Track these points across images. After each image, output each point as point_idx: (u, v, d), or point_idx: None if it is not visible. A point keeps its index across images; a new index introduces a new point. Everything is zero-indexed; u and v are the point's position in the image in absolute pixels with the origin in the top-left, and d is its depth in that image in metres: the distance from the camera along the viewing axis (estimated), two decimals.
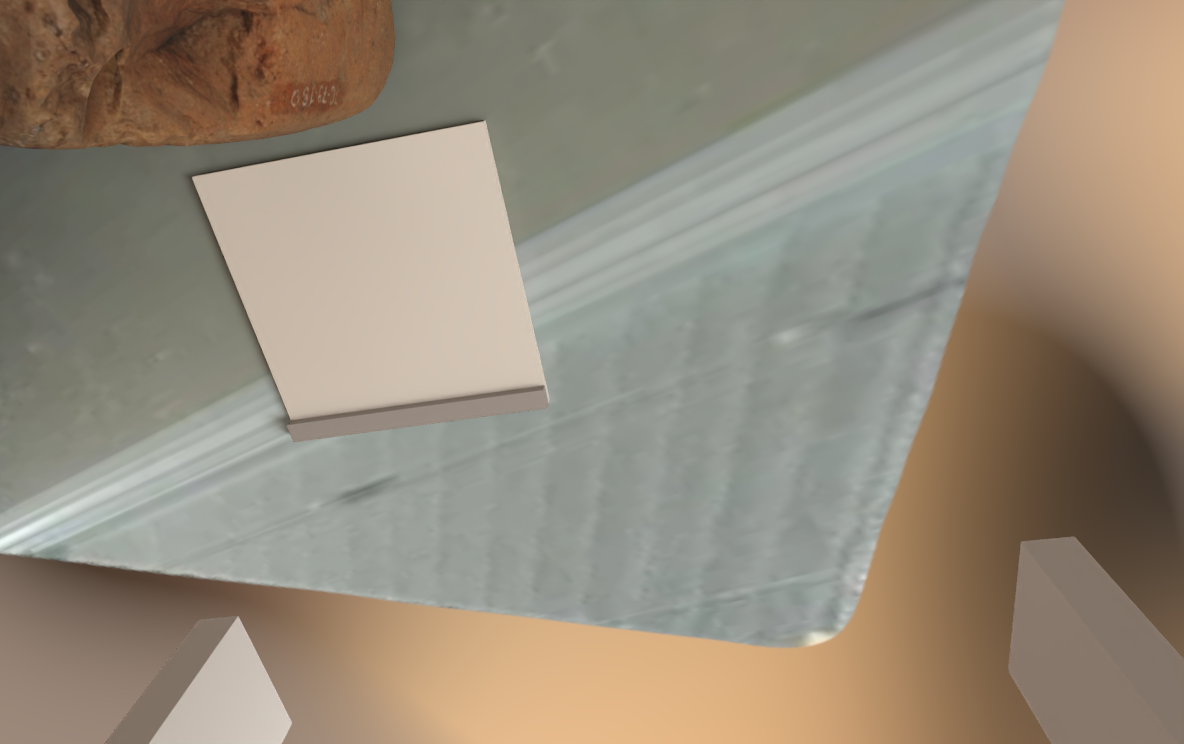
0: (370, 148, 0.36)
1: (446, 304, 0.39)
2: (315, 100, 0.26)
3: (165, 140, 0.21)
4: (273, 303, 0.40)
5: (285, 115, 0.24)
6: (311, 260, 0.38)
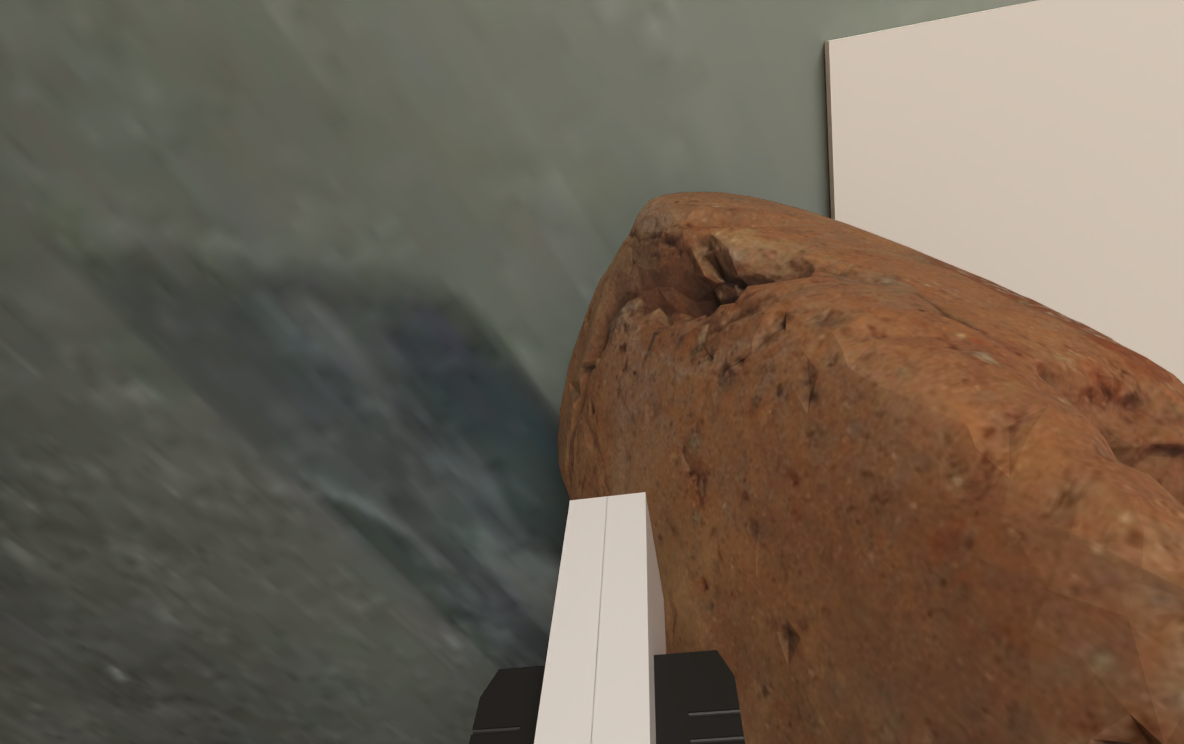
0: None
1: (1147, 143, 0.21)
2: (1033, 301, 0.13)
3: None
4: None
5: None
6: None
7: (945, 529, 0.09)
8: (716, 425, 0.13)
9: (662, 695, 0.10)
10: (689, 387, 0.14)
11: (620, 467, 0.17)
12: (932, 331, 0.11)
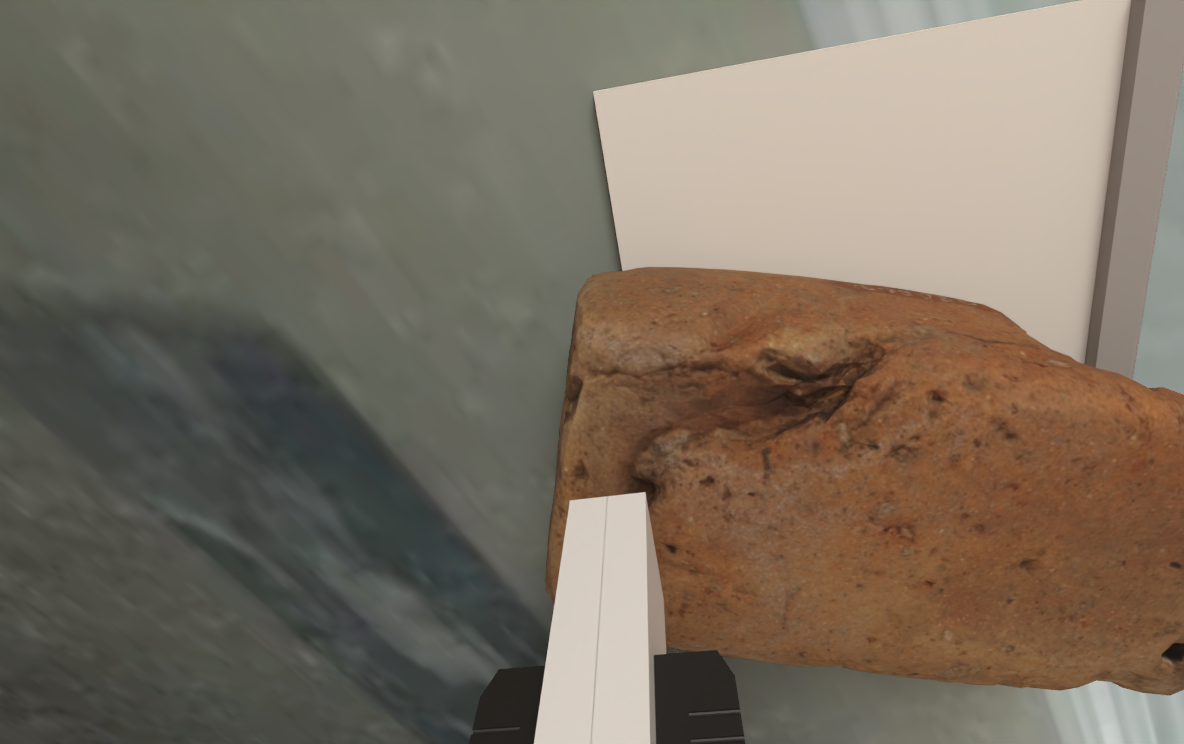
0: None
1: (908, 190, 0.21)
2: (915, 292, 0.21)
3: None
4: None
5: (971, 302, 0.21)
6: None
7: (1136, 462, 0.17)
8: (914, 489, 0.17)
9: (662, 695, 0.10)
10: (860, 477, 0.17)
11: (766, 569, 0.18)
12: (1015, 359, 0.17)
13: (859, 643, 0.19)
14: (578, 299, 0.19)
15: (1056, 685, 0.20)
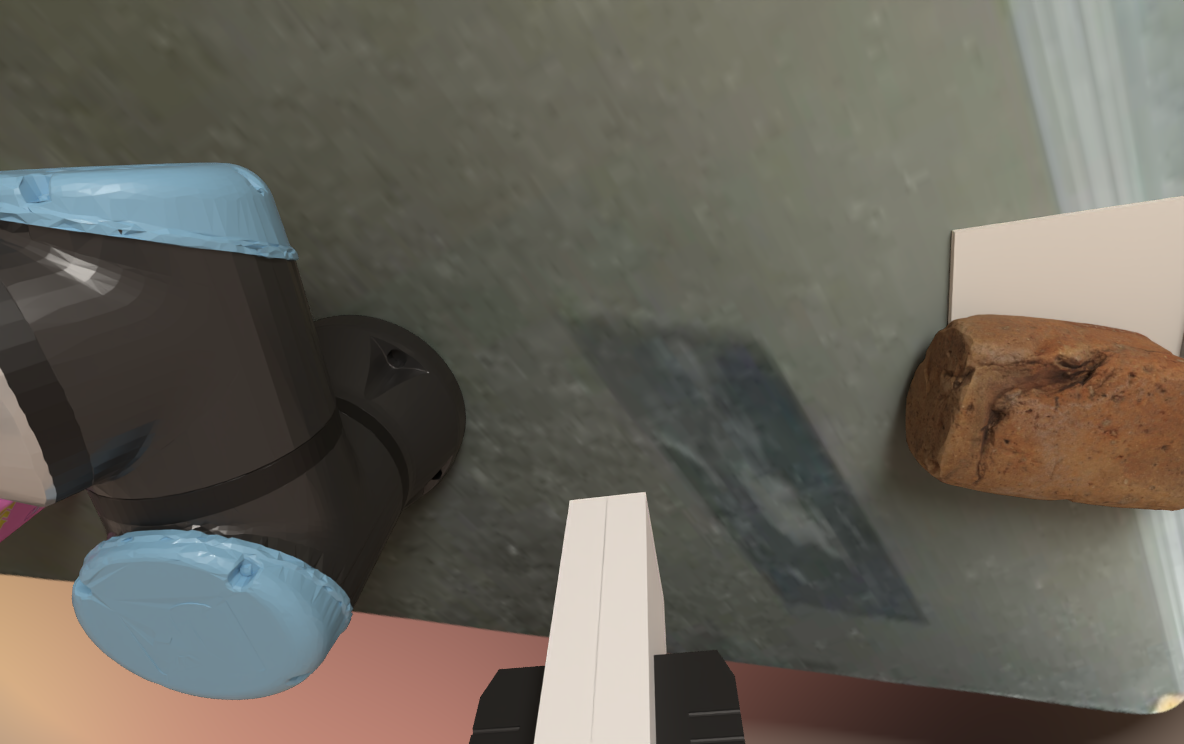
0: None
1: (1099, 277, 0.45)
2: (1105, 327, 0.44)
3: None
4: None
5: (1130, 331, 0.45)
6: None
7: None
8: (1120, 413, 0.41)
9: (662, 695, 0.10)
10: (1097, 408, 0.41)
11: (1049, 450, 0.42)
12: (1163, 359, 0.41)
13: (1084, 486, 0.43)
14: (961, 331, 0.43)
15: (1171, 506, 0.43)
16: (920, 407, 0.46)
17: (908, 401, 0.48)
